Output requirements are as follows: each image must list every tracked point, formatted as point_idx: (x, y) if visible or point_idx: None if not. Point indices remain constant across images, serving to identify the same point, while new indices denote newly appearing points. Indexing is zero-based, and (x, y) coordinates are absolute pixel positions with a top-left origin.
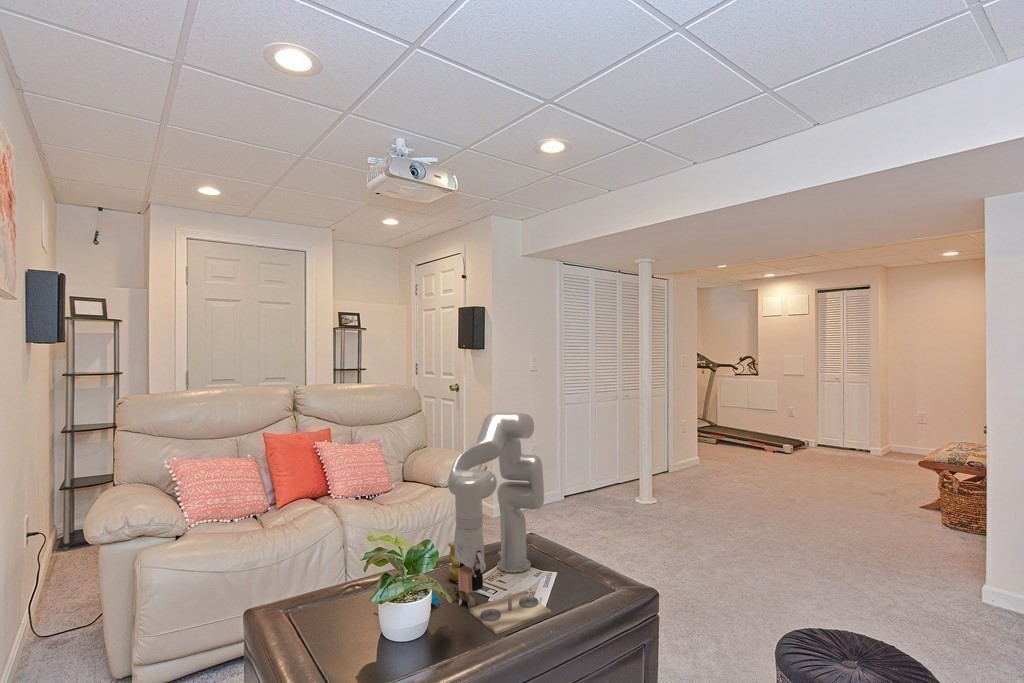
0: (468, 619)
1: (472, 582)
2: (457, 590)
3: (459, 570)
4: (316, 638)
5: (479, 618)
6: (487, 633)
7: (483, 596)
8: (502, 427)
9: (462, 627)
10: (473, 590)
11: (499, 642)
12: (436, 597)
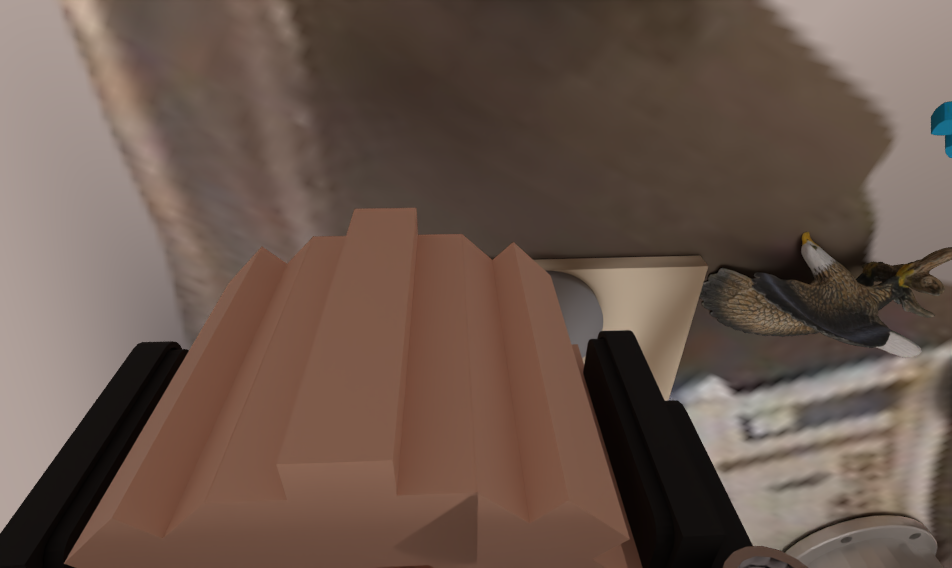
0: (632, 213)
1: (70, 451)
2: (910, 295)
3: (459, 501)
4: None
5: (577, 264)
6: (419, 231)
7: (765, 376)
8: None
9: (579, 139)
10: (142, 351)
11: (293, 241)
12: None
